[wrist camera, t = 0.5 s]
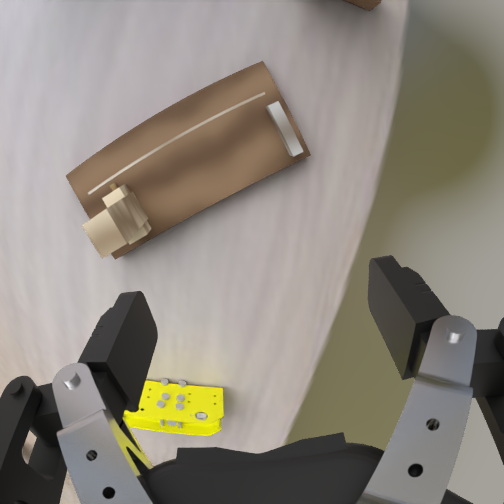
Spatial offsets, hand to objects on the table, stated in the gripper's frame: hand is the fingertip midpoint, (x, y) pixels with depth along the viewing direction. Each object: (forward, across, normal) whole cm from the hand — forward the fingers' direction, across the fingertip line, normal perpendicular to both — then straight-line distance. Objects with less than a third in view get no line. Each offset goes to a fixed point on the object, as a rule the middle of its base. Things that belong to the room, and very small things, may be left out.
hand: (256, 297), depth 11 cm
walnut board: (+27, +8, -1) cm, 28 cm away
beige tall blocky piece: (+24, +14, +3) cm, 28 cm away
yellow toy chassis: (+23, +18, +32) cm, 44 cm away
